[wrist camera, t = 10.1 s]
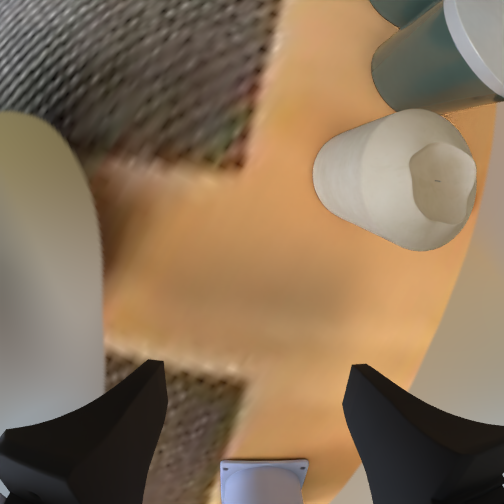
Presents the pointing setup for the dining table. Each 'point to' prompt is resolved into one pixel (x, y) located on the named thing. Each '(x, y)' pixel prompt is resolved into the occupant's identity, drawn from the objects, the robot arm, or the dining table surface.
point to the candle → (400, 178)
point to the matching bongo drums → (441, 54)
